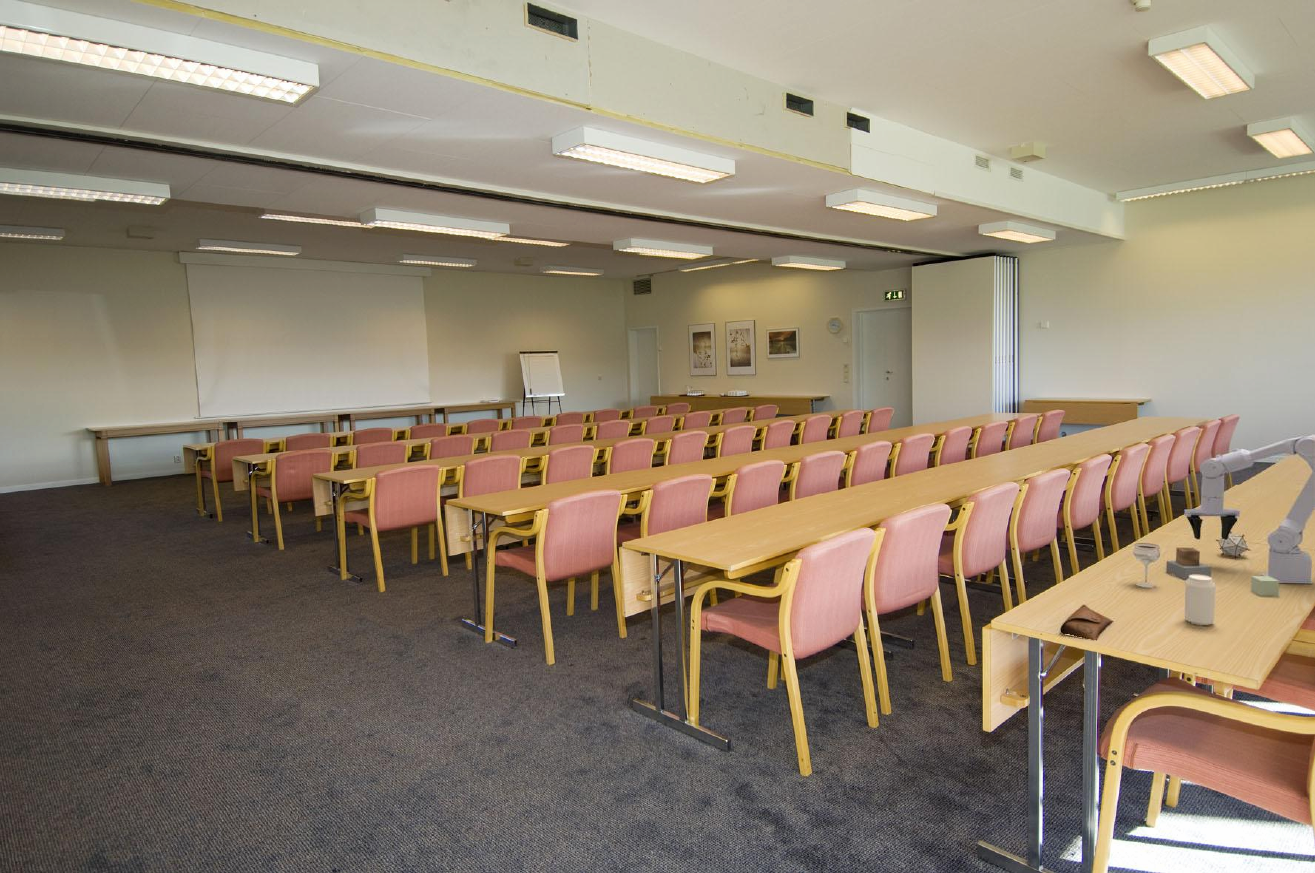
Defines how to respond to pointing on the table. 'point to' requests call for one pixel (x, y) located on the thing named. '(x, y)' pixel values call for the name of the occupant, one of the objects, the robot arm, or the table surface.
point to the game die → (1233, 545)
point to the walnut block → (1187, 556)
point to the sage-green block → (1265, 586)
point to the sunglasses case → (1085, 623)
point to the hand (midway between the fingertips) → (1210, 538)
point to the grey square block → (1187, 570)
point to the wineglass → (1146, 558)
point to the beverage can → (1199, 599)
